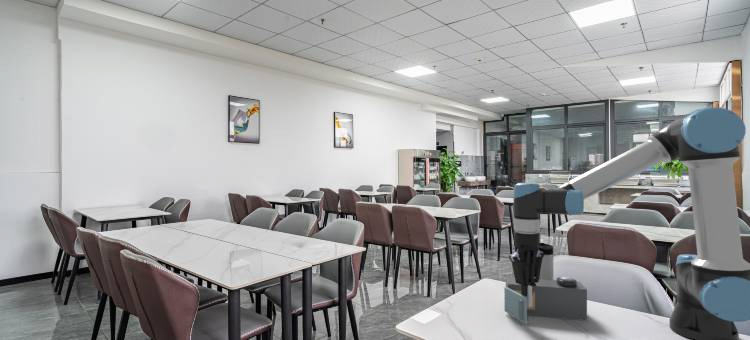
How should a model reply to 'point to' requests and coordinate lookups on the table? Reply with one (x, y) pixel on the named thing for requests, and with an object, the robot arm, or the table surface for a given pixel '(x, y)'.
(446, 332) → the table surface
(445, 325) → the table surface
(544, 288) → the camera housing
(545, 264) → the travel mug
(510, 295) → the side door
